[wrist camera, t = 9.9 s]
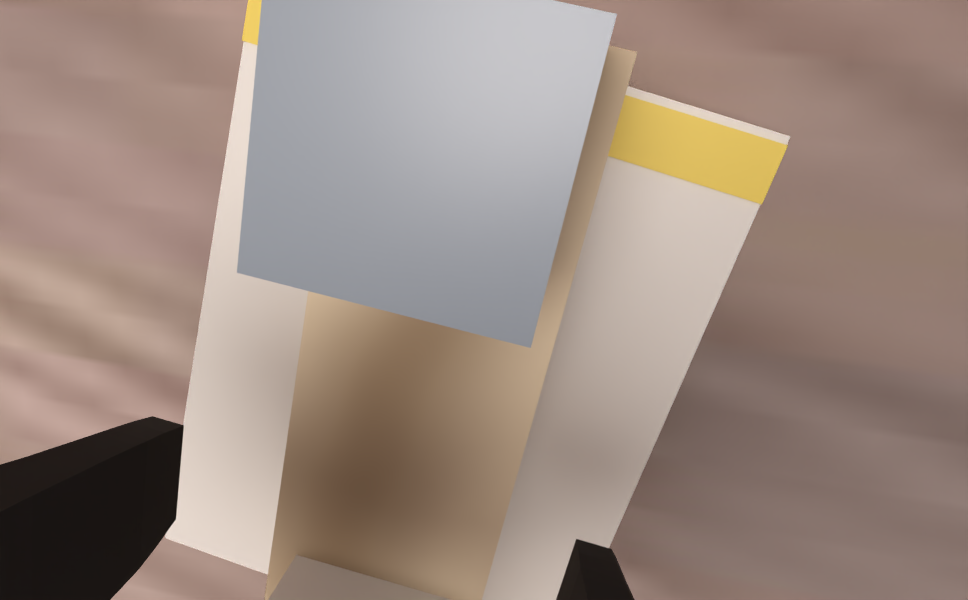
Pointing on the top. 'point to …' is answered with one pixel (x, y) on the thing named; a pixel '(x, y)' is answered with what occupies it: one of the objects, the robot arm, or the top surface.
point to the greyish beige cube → (338, 584)
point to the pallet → (423, 418)
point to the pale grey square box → (419, 152)
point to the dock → (573, 364)
